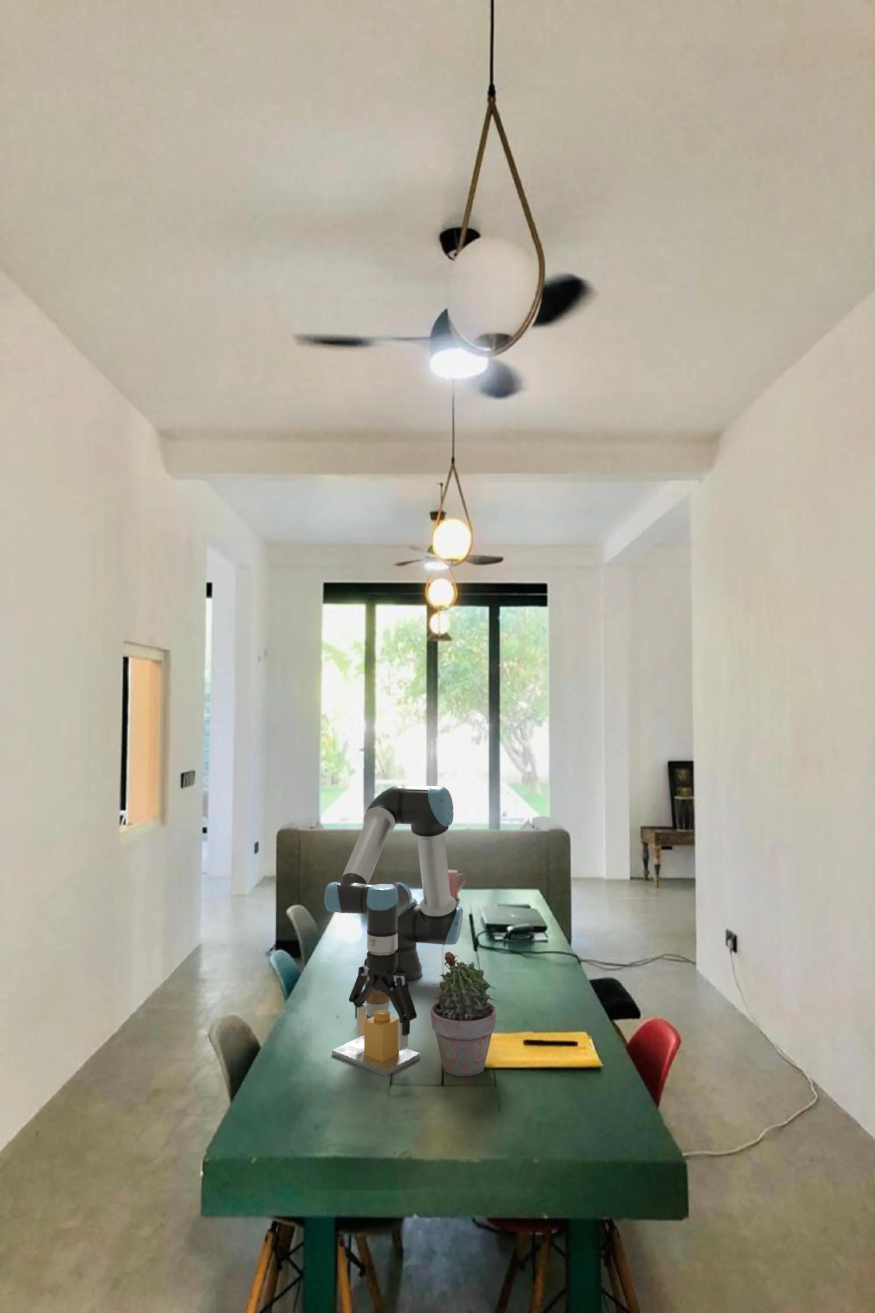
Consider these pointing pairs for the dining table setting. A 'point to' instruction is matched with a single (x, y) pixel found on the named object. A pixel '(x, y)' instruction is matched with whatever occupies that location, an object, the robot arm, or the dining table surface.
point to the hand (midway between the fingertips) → (381, 1041)
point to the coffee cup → (376, 1000)
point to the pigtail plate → (355, 1055)
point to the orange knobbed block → (381, 1036)
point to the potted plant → (463, 1019)
